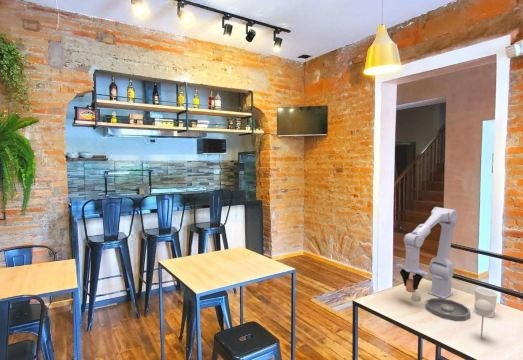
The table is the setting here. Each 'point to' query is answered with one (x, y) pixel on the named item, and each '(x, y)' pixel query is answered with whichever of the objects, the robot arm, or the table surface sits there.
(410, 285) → the bead terracotta
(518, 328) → the table surface
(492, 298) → the white cup
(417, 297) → the bead cream
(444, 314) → the groove tray
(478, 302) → the lollipop
